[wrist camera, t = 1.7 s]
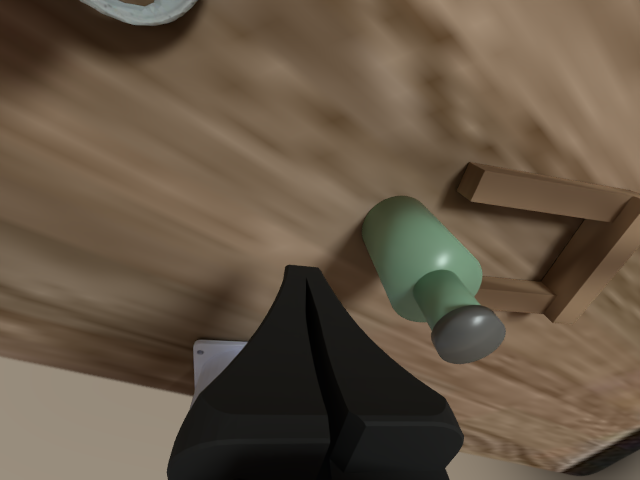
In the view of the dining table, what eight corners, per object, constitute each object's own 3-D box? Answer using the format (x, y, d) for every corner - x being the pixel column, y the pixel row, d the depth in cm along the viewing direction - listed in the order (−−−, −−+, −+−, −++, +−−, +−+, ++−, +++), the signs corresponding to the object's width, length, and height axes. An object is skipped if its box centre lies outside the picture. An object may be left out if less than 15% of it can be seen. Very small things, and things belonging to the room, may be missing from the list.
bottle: (415, 259, 20) (494, 379, 13) (354, 252, 20) (399, 376, 12) (439, 201, 18) (553, 302, 10) (372, 191, 17) (441, 292, 10)
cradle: (547, 301, 24) (573, 324, 22) (413, 289, 22) (427, 313, 20) (630, 190, 19) (673, 206, 17) (469, 162, 17) (495, 176, 15)
